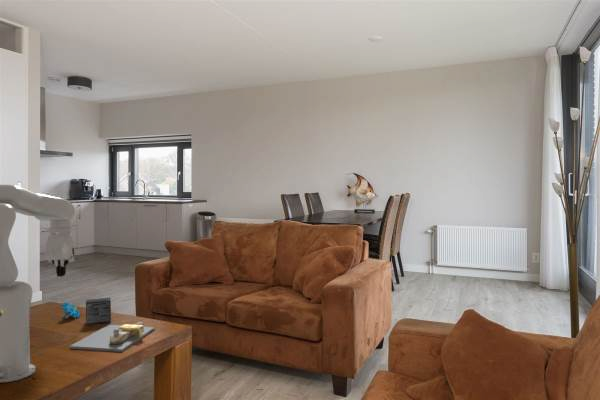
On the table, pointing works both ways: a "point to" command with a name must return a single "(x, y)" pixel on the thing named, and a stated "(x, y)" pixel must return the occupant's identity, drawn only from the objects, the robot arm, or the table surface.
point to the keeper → (137, 329)
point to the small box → (98, 311)
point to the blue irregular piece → (70, 310)
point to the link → (122, 334)
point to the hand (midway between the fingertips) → (61, 275)
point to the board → (107, 340)
